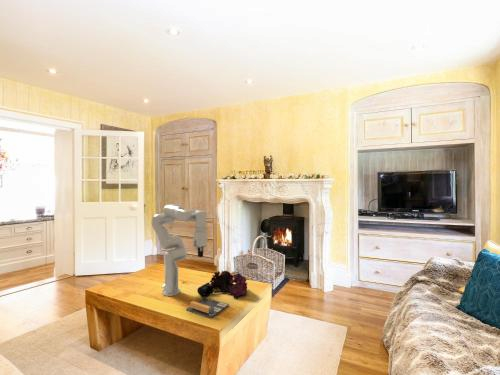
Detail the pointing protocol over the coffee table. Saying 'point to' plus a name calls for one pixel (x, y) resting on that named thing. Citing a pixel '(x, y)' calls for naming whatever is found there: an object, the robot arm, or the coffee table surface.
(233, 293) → the flower arrangement
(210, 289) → the dark grey toy house
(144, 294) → the coffee table surface
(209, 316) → the tray
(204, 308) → the bar
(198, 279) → the coffee table surface
